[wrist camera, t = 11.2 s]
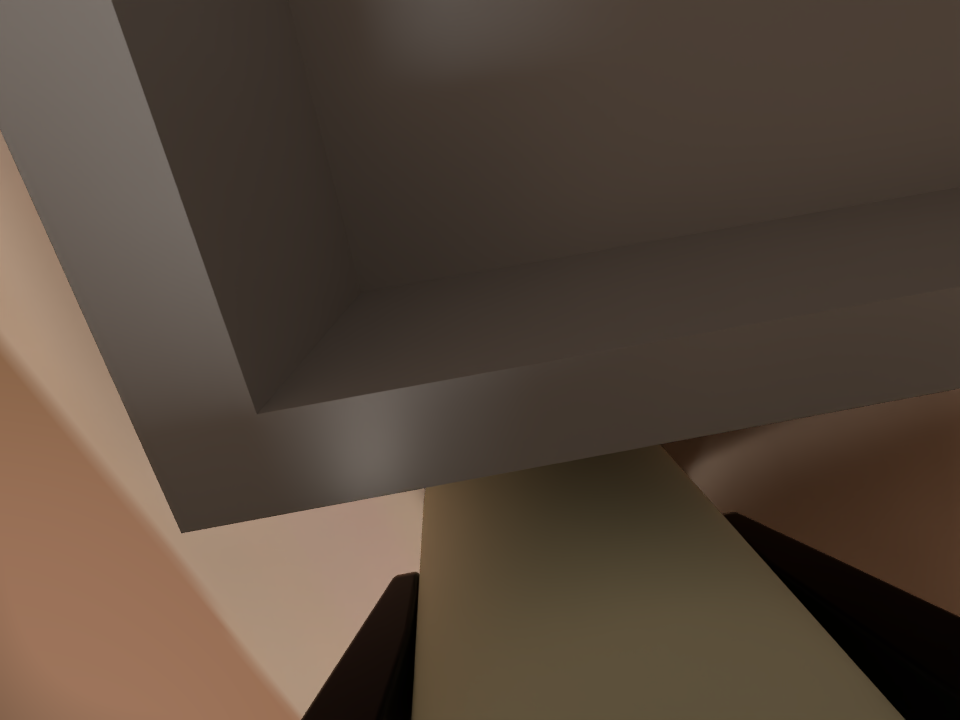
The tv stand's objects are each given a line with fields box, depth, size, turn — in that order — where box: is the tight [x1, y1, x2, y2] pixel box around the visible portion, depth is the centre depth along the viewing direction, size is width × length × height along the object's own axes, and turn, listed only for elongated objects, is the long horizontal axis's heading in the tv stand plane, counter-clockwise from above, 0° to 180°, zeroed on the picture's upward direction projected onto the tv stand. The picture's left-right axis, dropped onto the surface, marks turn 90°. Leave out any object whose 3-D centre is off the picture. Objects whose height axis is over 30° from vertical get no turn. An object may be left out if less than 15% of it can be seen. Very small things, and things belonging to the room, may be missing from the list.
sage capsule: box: [411, 444, 905, 720], centre depth 6 cm, size 5×5×7 cm
